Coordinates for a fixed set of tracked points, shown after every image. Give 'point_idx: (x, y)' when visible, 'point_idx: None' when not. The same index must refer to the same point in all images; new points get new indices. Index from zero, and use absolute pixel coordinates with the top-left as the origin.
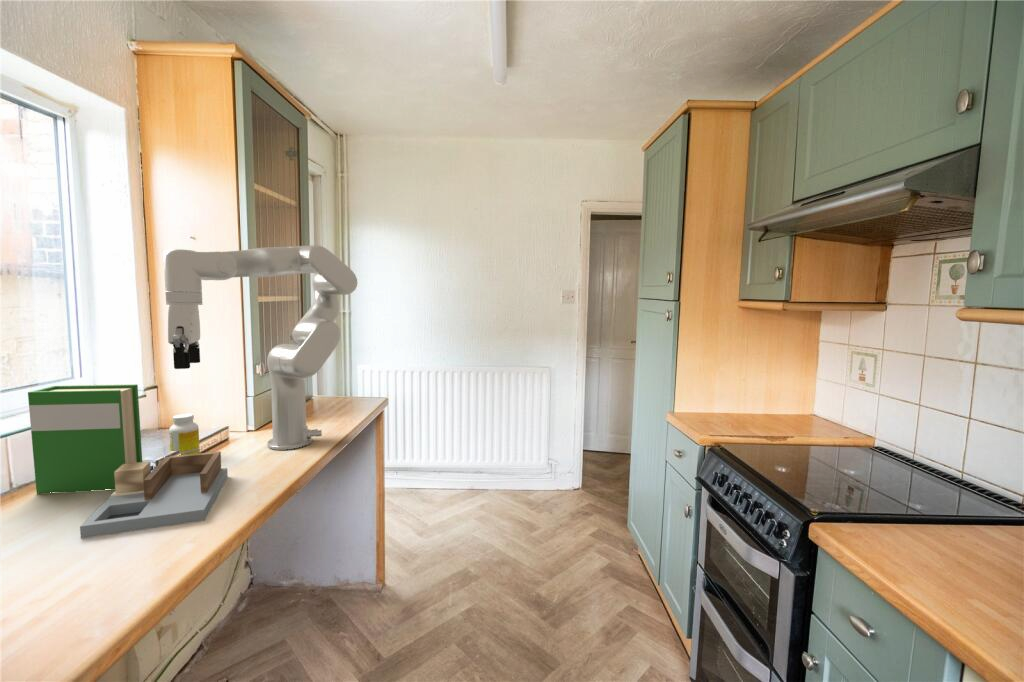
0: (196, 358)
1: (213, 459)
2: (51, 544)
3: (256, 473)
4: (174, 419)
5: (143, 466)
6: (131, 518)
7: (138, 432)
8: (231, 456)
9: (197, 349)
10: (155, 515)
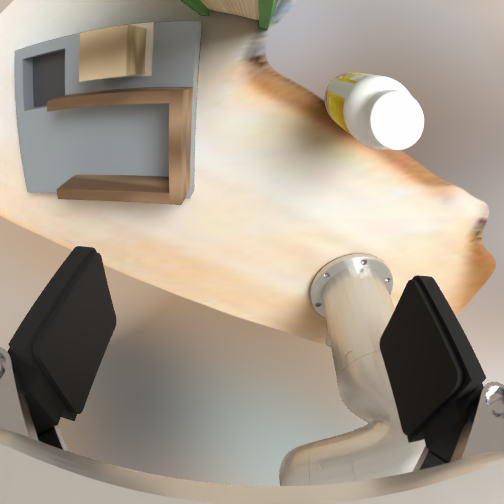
0: (392, 357)
1: (127, 198)
2: (24, 24)
3: (195, 235)
4: (379, 95)
5: (93, 76)
6: (17, 106)
7: (260, 8)
8: (330, 188)
9: (407, 427)
10: (19, 135)
